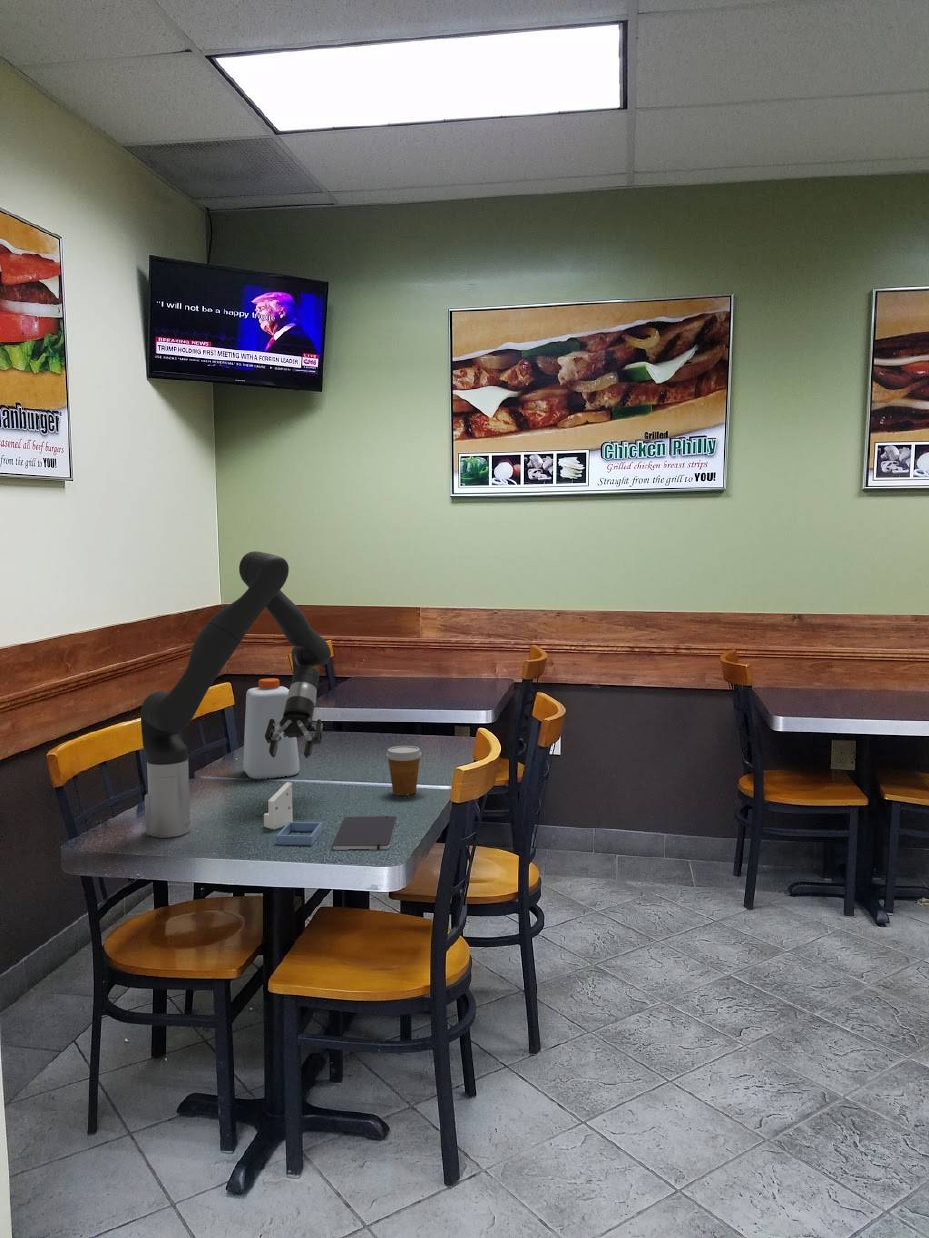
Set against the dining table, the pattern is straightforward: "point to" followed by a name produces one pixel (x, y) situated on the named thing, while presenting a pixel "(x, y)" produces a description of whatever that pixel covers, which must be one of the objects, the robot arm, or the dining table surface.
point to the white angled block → (279, 808)
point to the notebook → (365, 833)
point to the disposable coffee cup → (404, 768)
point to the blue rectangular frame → (286, 839)
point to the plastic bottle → (259, 711)
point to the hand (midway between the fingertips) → (289, 756)
